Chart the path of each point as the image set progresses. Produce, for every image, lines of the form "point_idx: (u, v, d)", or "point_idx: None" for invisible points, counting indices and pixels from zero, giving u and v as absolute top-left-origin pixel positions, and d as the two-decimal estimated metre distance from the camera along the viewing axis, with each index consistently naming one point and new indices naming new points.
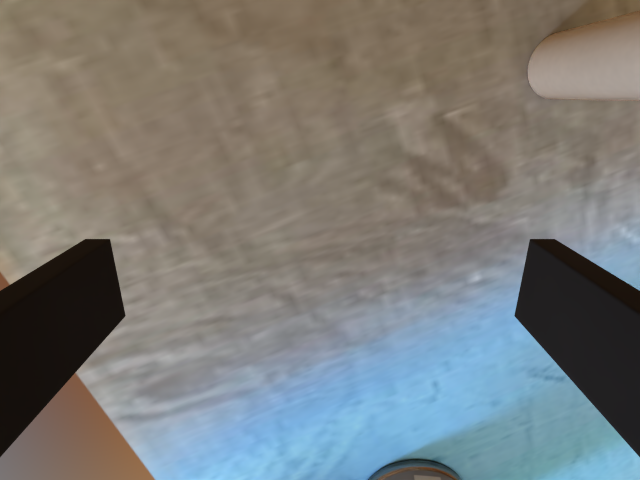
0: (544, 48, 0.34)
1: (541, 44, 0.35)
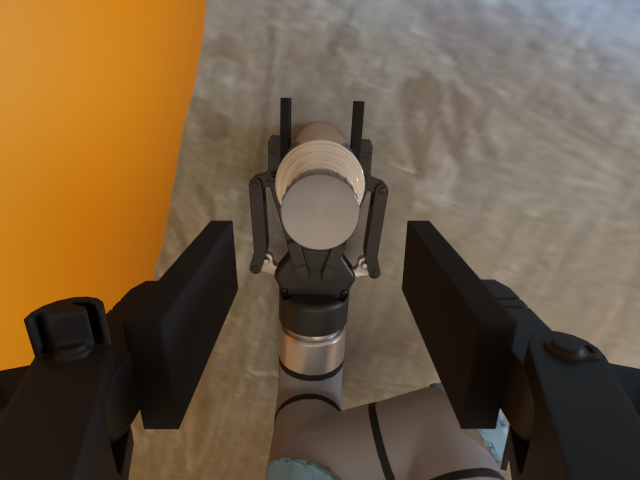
0: None
1: None
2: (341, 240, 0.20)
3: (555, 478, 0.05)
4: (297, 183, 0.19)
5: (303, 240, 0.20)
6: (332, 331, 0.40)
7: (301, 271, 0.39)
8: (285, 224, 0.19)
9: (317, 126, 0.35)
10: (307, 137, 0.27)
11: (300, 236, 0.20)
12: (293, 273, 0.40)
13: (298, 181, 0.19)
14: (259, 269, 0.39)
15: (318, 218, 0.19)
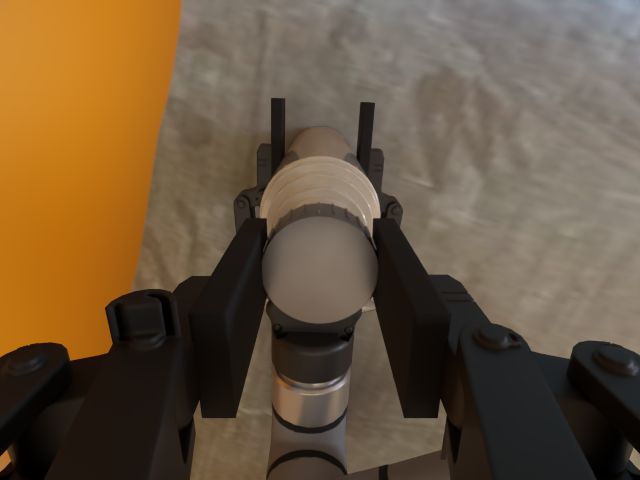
0: None
1: None
2: (351, 310, 0.13)
3: (480, 467, 0.05)
4: (285, 229, 0.12)
5: (295, 310, 0.13)
6: (334, 376, 0.33)
7: None
8: (268, 288, 0.13)
9: (316, 133, 0.29)
10: (303, 150, 0.20)
11: (290, 305, 0.13)
12: None
13: (286, 226, 0.12)
14: None
15: (317, 280, 0.13)
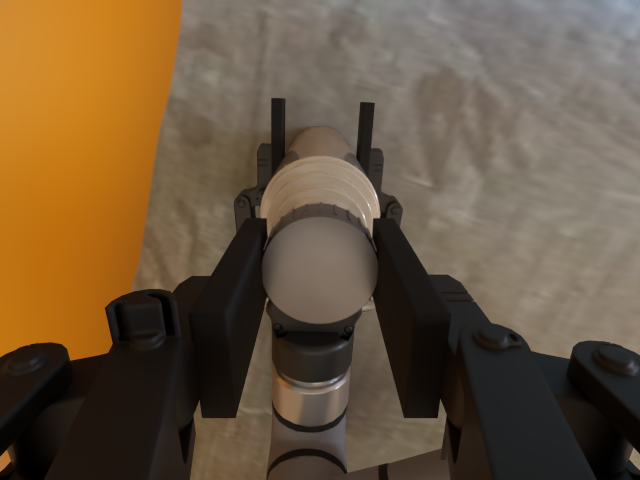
0: None
1: None
2: (358, 236, 0.12)
3: (480, 467, 0.05)
4: (280, 308, 0.13)
5: (365, 290, 0.13)
6: (334, 376, 0.33)
7: None
8: (343, 316, 0.13)
9: (316, 133, 0.29)
10: (303, 150, 0.21)
11: (359, 294, 0.13)
12: None
13: (278, 306, 0.13)
14: None
15: (327, 274, 0.13)
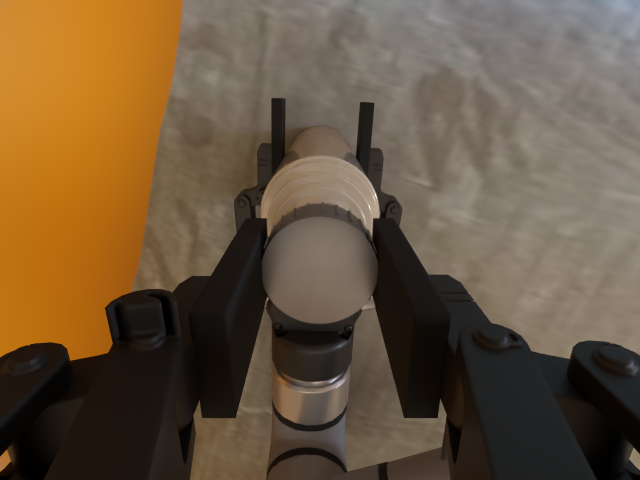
0: None
1: None
2: (273, 244, 0.12)
3: (480, 467, 0.05)
4: (363, 303, 0.13)
5: (331, 227, 0.12)
6: (334, 375, 0.34)
7: None
8: (366, 243, 0.12)
9: (316, 133, 0.29)
10: (303, 150, 0.21)
11: (338, 231, 0.12)
12: None
13: (363, 305, 0.13)
14: None
15: (319, 265, 0.13)
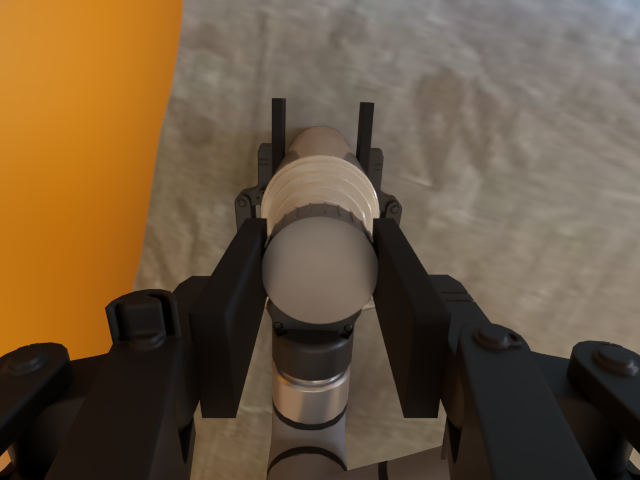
0: None
1: None
2: (297, 315, 0.13)
3: (480, 467, 0.05)
4: (347, 226, 0.12)
5: (269, 270, 0.13)
6: (334, 374, 0.34)
7: None
8: (279, 236, 0.12)
9: (317, 132, 0.29)
10: (303, 149, 0.21)
11: (273, 263, 0.13)
12: None
13: (350, 225, 0.12)
14: None
15: (312, 274, 0.13)
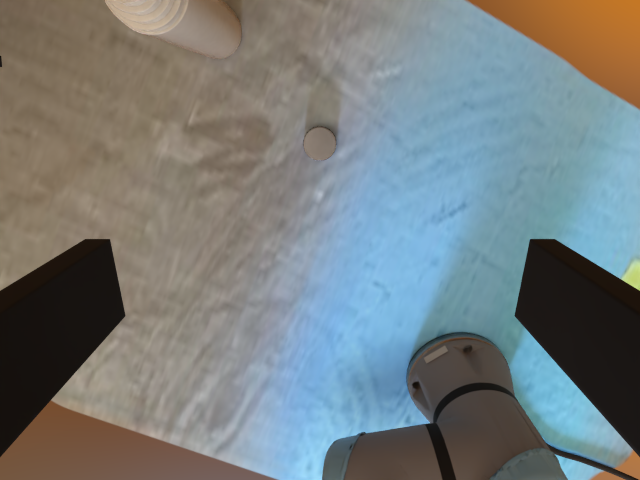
0: None
1: None
2: (333, 148, 0.47)
3: None
4: (305, 139, 0.46)
5: (320, 158, 0.47)
6: None
7: None
8: (310, 156, 0.47)
9: (227, 22, 0.37)
10: None
11: (318, 157, 0.47)
12: None
13: (305, 138, 0.46)
14: None
15: (320, 146, 0.47)
